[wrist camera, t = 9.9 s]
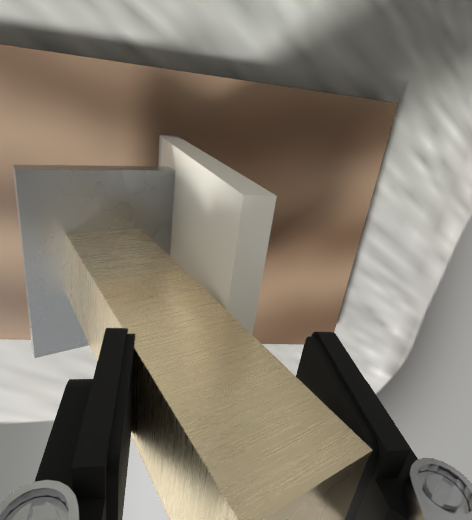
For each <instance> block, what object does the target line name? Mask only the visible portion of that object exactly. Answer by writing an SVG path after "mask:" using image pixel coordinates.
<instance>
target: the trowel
mask: <svg viewBox="0 0 472 520" xmlns="http://www.w3.org/2000/svg"><path fill="white" fill-rule="evenodd" d="M13 175H14V184H15V194H16V203H17V212H18V222H19V231H20V240H21V250H22V259H23V268H24V278H25V287H26V296H27V306H28V315H29V324H30V334H31V343H32V349H33V353H34V357H35V358H37V357H41V356H45V355H49V354H54V353H58V352H62V351H66V350H71V349H75V348H79V347H83V346H87V345H90V347H91V349H92V351H93V353H94V355H95V358H96V360H97V362H98V358H99V354H100V350H101V346H102V342H103V338H104V334H105V330H106V328H128V332H127V334H135V342H134V358H133V390H132V421H131V437H132V439H133V441H134V443H135V445H136V448H137V450H138V452H139V454H140V456H141V458H142V460H143V463H144V465H145V467H146V469H147V472H148V474H149V476H150V478H151V480H152V483H153V485H154V487H155V489H156V491H157V494H158V495H159V498H160V500H161V502H162V504H163V507H164V509H165V511H166V513H167V515H168V518H169V520H345V518H346V515H347V513H348V510H349V507H350V504H351V502H352V499H353V496H354V494H355V491H356V489H357V486H358V484H359V481H360V479H361V476H362V473H363V471H364V468H365V466H366V463H367V461H368V458H369V456H370V455H371V453H372V451H373V450H372V449H371V448H370V447H369V446H368V445H367V444H366V443H365V442H364V441H363V440H362V439H361V438H360V437H359V436H357V435H356V434H355V433H354V432H353V431H352V430H351V429H350V428H349V427H348V426H347V425H346V424H345V423H344V422H343V421H342V420H341V419H340V418H339V417H338V416H337V415H335V414H334V413H333V412H332V411H331V410H330V409H329V408H328V407H327V406H326V405H325V404H324V403H323V402H322V401H321V400H320V399H319V398H318V397H317V396H316V395H315V394H313V393H312V392H311V391H310V390H309V389H308V388H307V387H306V386H305V385H304V384H303V383H302V382H301V381H300V380H299V379H298V378H297V377H296V376H295V375H294V374H292V373H291V372H290V371H289V370H288V369H287V368H286V367H285V366H284V365H283V364H282V363H281V362H280V361H279V360H278V359H277V358H276V357H275V356H274V355H273V354H272V353H270V352H269V351H268V350H267V349H266V348H265V347H264V346H263V345H262V344H261V343H260V342H259V341H258V340H257V339H256V338H255V337H254V336H253V335H252V334H251V333H250V332H248V331H247V330H246V329H245V328H244V327H243V326H242V325H241V324H240V323H239V322H238V321H237V320H236V319H235V318H234V317H233V316H232V315H231V314H230V313H229V312H228V311H226V310H225V309H224V308H223V307H222V306H221V305H220V304H219V303H218V302H217V301H216V300H215V299H214V298H213V297H212V296H211V295H210V294H209V293H208V292H207V291H206V290H204V289H203V288H202V287H201V286H200V285H199V284H198V283H197V282H196V281H195V280H194V279H193V278H192V277H191V276H190V275H189V274H188V273H187V272H186V271H185V270H184V269H182V268H181V267H180V266H179V265H178V264H177V263H176V262H175V261H174V260H173V259H172V258H171V257H170V249H171V233H172V217H173V202H174V186H175V170H174V169H172V168H170V167H164V166H85V165H13Z"/></svg>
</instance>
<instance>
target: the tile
mask: <svg viewBox="0 0 472 520" xmlns="http://www.w3.org/2000/svg"><path fill="white" fill-rule="evenodd" d="M158 166H164V167H170V168H172V169H174V170H175V186H174V202H173V217H172V233H171V249H170V257H171V258H172V259H173V260H174V261H175V262H176V263H177V264H178V265H179V266H180V267H181V268H182V269H184V270H185V271H186V272H187V273H188V274H189V275H190V276H191V277H192V278H193V279H194V280H195V281H196V282H197V283H198V284H199V285H200V286H201V287H202V288H203V289H204V290H206V291H207V292H208V293H209V294H210V295H211V296H212V297H213V298H214V299H215V300H216V301H217V302H218V303H219V304H220V305H221V306H222V307H223V308H224V309H225V310H226V311H228V312H229V313H230V314H231V315H232V316H233V317H234V318H235V319H236V320H237V321H238V322H239V323H240V324H241V325H242V326H243V327H244V328H245V329H246V330H247V331H248V332H250V333H251V334H253V328H254V322H255V317H256V311H257V305H258V300H259V294H260V288H261V283H262V277H263V271H264V266H265V260H266V254H267V249H268V243H269V237H270V232H271V226H272V220H273V215H274V209H275V203H276V198H277V196H276V195H274V194H273V193H271V192H270V191H268V190H266V189H265V188H263V187H261V186H260V185H258V184H256V183H255V182H253V181H251V180H250V179H248V178H246V177H245V176H243V175H241V174H240V173H238V172H236V171H235V170H233V169H231V168H230V167H228V166H226V165H225V164H223V163H221V162H220V161H218V160H216V159H215V158H213V157H212V156H210V155H208V154H207V153H205V152H203V151H202V150H200V149H198V148H197V147H195V146H193V145H192V144H190V143H188V142H187V141H185V140H183V139H180V137H177V136H172V135H160V137H159V159H158Z"/></svg>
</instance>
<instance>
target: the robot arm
mask: <svg viewBox="0 0 472 520" xmlns="http://www.w3.org/2000/svg"><path fill="white" fill-rule="evenodd" d="M127 332H128V328H106V330H105V334H104V338H103V342H102V346H101V350H100V354H99V358H98V362H97V366H96V370H95V374H94V378H93V379H70V380H69V381H68V383H67V385H66V388H65V391H64V394H63V397H62V400H61V403H60V406H59V409H58V412H57V415H56V418H55V421H54V424H53V428H52V430H51V433H50V436H49V439H48V442H47V446H46V449H45V452H44V455H43V458H42V461H41V464H40V467H39V470H38V473H37V476H36V479H35V482H32V483H30V484H27V485H24V486H22V487H20V488H19V489H17V490H15V491H14V492H12V493H11V494H9V495H8V496H7V497H6V498H5V499H4V500H3V501H2V502H1V503H0V520H122V516H123V506H124V496H125V487H126V477H127V467H128V457H129V447H130V437H131V421H132V390H133V358H134V342H135V334H127ZM296 377H297V378H298V379H299V380H300V381H301V382H302V383H303V384H304V385H305V386H306V387H307V388H308V389H309V390H310V391H311V392H312V393H313V394H315V395H316V396H317V397H318V398H319V399H320V400H321V401H322V402H323V403H324V404H325V405H326V406H327V407H328V408H329V409H330V410H331V411H332V412H333V413H334V414H335V415H337V416H338V417H339V418H340V419H341V420H342V421H343V422H344V423H345V424H346V425H347V426H348V427H349V428H350V429H351V430H352V431H353V432H354V433H355V434H356V435H357V436H359V437H360V438H361V439H362V440H363V441H364V442H365V443H366V444H367V445H368V446H369V447H370V448H371V449H372V450H373V451H372V453H371V455H370V456H369V458H368V461H367V463H366V466H365V468H364V471H363V473H362V476H361V479H360V481H359V484H358V486H357V489H356V491H355V494H354V496H353V499H352V502H351V504H350V507H349V510H348V513H347V515H346V518H345V520H472V483H471V482H470V481H469V480H468V479H467V478H466V477H465V476H464V475H463V474H462V473H460V472H459V471H458V470H456V469H455V468H454V467H452V466H450V465H448V464H446V463H445V462H443V461H439V460H436V459H433V458H422V459H419V460H418V459H417V457H416V456H415V454H414V453H413V451H412V450H411V448H410V446H409V445H408V443H407V442H406V440H405V439H404V437H403V436H402V434H401V433H400V431H399V430H398V428H397V427H396V425H395V423H394V422H393V420H392V419H391V417H390V416H389V414H388V413H387V411H386V410H385V408H384V407H383V405H382V404H381V402H380V401H379V399H378V398H377V396H376V394H375V393H374V391H373V390H372V388H371V387H370V385H369V384H368V382H367V381H366V380H365V379H364V377H363V375H362V374H361V372H360V371H359V369H358V368H357V366H356V365H355V363H354V362H353V360H352V359H351V357H350V356H349V354H348V352H347V351H346V349H345V348H344V346H343V345H342V343H341V342H340V340H339V339H338V337H337V336H336V334H335V333H334V332H313V334H312V335H311V336H308V337H307V338H306V340H305V344H304V348H303V352H302V356H301V359H300V363H299V367H298V371H297V375H296Z"/></svg>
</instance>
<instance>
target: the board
mask: <svg viewBox="0 0 472 520" xmlns="http://www.w3.org/2000/svg"><path fill="white" fill-rule="evenodd" d="M397 106H398V103H393V102H386V101H380V100H373V99H366V98H359V97H353V96H346V95H339V94H332V93H326V92H319V91H312V90H305V89H299V88H292V87H285V86H278V85H272V84H265V83H258V82H251V81H245V80H238V79H231V78H225V77H218V76H211V75H204V74H198V73H191V72H184V71H177V70H171V69H164V68H157V67H150V66H144V65H137V64H130V63H123V62H117V61H110V60H103V59H96V58H90V57H83V56H76V55H69V54H63V53H56V52H49V51H42V50H36V49H29V48H22V47H15V46H9V45H2V44H0V339H13V340H31V334H30V324H29V315H28V306H27V296H26V287H25V278H24V268H23V259H22V250H21V240H20V231H19V222H18V212H17V203H16V194H15V184H14V175H13V165H85V166H158V159H159V137H160V135H172V136H177V137H180V139H183V140H185V141H187V142H188V143H190V144H192V145H193V146H195V147H197V148H198V149H200V150H202V151H203V152H205V153H207V154H208V155H210V156H212V157H213V158H215V159H216V160H218V161H220V162H221V163H223V164H225V165H226V166H228V167H230V168H231V169H233V170H235V171H236V172H238V173H240V174H241V175H243V176H245V177H246V178H248V179H250V180H251V181H253V182H255V183H256V184H258V185H260V186H261V187H263V188H265V189H266V190H268V191H270V192H271V193H273V194H274V195H276V196H277V198H276V203H275V209H274V215H273V220H272V226H271V232H270V237H269V243H268V249H267V254H266V260H265V266H264V271H263V277H262V283H261V288H260V294H259V300H258V305H257V311H256V317H255V322H254V328H253V334H252V335H253V336H254V337H255V338H256V339H257V340H258V341H259V342H260V343H261V344H305V340H306V338H307V337H308V336H311V335H312V334H313V332H334V330H335V327H336V323H337V320H338V316H339V313H340V309H341V305H342V302H343V298H344V295H345V291H346V288H347V284H348V281H349V277H350V273H351V270H352V266H353V263H354V259H355V256H356V252H357V249H358V245H359V241H360V238H361V234H362V231H363V227H364V224H365V220H366V217H367V213H368V209H369V206H370V202H371V199H372V195H373V192H374V188H375V185H376V181H377V177H378V174H379V170H380V167H381V163H382V160H383V156H384V152H385V149H386V145H387V142H388V138H389V135H390V131H391V128H392V124H393V120H394V117H395V113H396V110H397Z"/></svg>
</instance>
